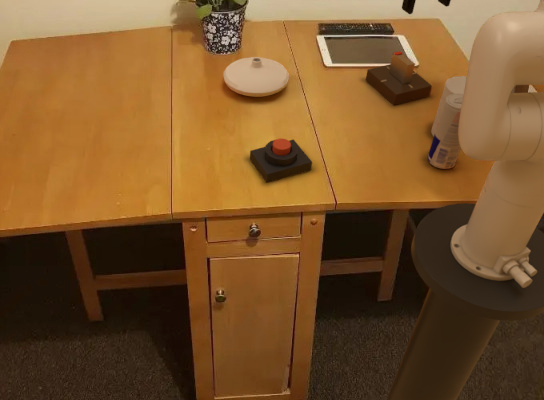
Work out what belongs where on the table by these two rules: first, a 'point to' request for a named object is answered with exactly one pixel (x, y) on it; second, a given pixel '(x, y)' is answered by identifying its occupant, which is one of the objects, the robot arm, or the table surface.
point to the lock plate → (397, 85)
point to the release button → (281, 147)
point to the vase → (256, 76)
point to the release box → (280, 162)
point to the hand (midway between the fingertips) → (425, 7)
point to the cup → (450, 87)
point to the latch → (401, 67)
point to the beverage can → (447, 134)
